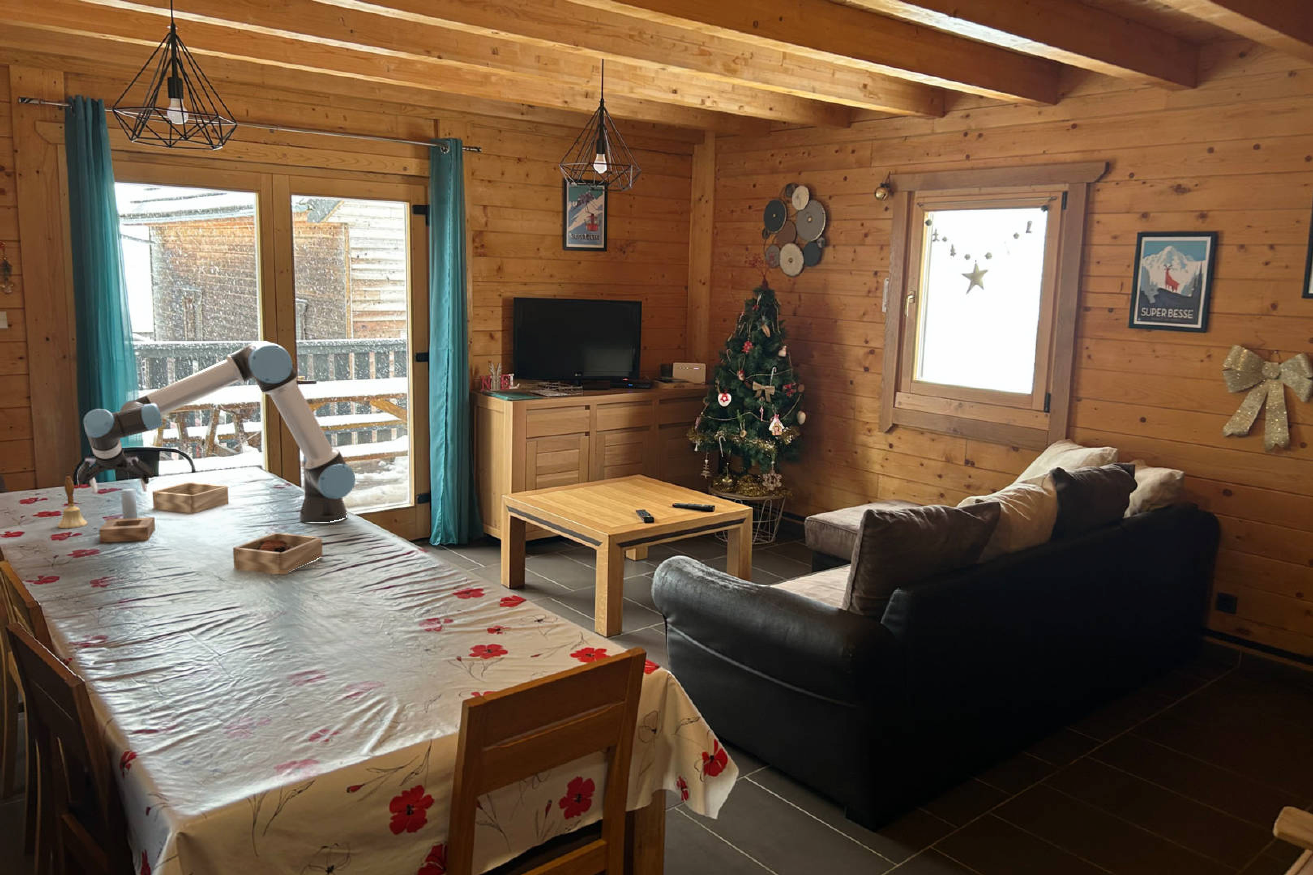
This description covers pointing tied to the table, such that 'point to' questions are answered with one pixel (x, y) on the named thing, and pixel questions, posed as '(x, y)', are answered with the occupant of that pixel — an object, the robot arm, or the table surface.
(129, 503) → the peg
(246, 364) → the robot arm
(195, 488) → the wooden tray
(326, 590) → the table surface
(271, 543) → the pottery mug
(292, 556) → the open wooden box
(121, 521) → the socket
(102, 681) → the table surface
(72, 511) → the hand bell
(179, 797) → the table surface
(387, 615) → the table surface
